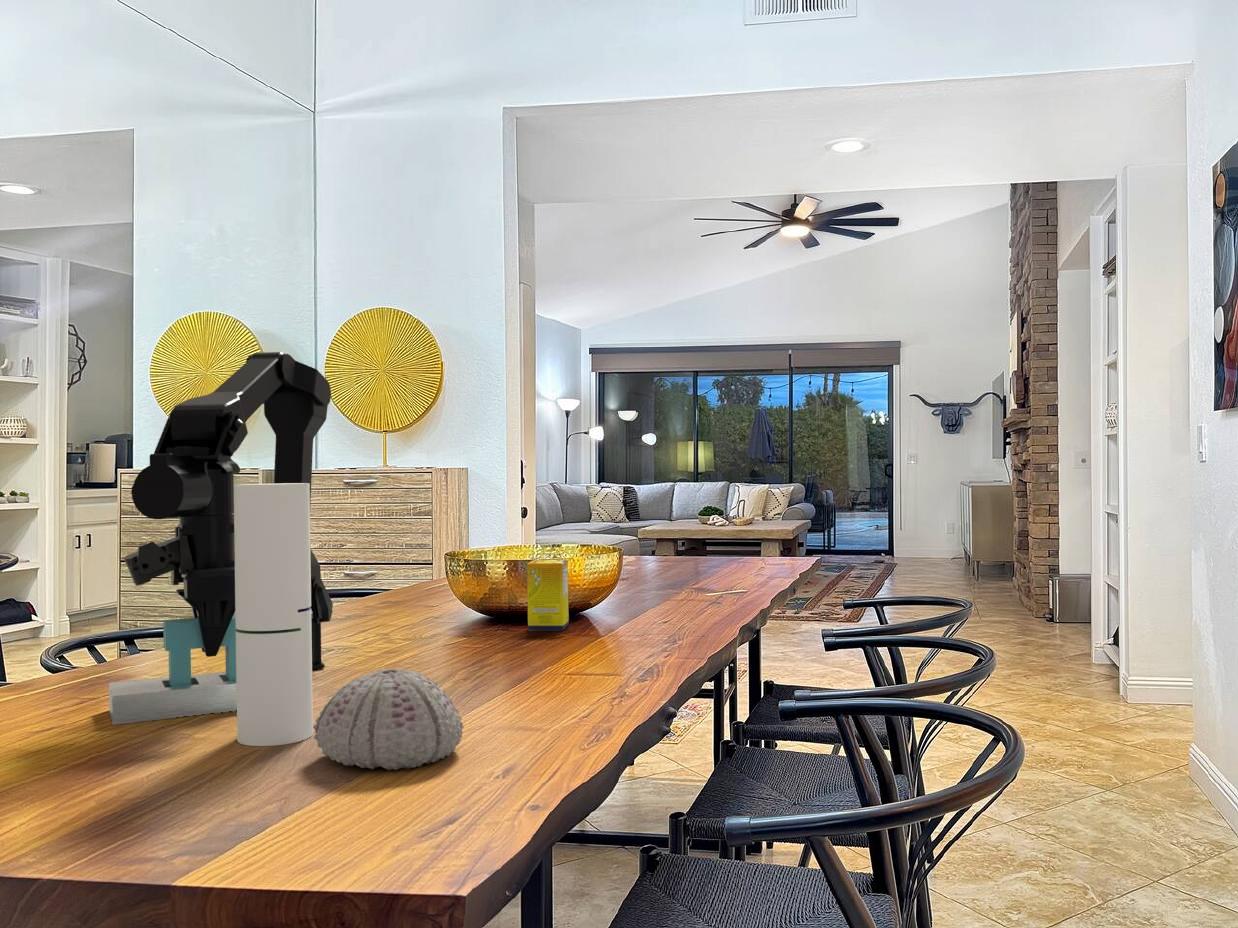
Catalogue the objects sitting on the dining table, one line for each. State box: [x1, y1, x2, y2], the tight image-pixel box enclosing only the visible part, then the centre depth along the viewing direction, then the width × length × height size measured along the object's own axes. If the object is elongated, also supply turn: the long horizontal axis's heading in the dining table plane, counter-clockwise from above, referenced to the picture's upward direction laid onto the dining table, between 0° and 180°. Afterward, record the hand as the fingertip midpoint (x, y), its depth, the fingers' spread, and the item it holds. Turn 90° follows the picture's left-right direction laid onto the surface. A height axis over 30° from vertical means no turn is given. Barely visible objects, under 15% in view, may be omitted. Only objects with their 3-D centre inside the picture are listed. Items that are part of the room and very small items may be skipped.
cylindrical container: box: [234, 483, 314, 747], centre depth 106 cm, size 7×7×25 cm
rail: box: [108, 671, 237, 726], centre depth 120 cm, size 20×8×3 cm, turn 118°
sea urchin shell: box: [313, 668, 465, 771], centre depth 98 cm, size 13×14×8 cm
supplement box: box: [526, 559, 570, 632], centre depth 176 cm, size 6×6×11 cm
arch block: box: [162, 614, 237, 687], centre depth 120 cm, size 9×3×7 cm, turn 118°
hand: (209, 653), depth 120 cm, fingers closed on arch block, 3 cm apart
